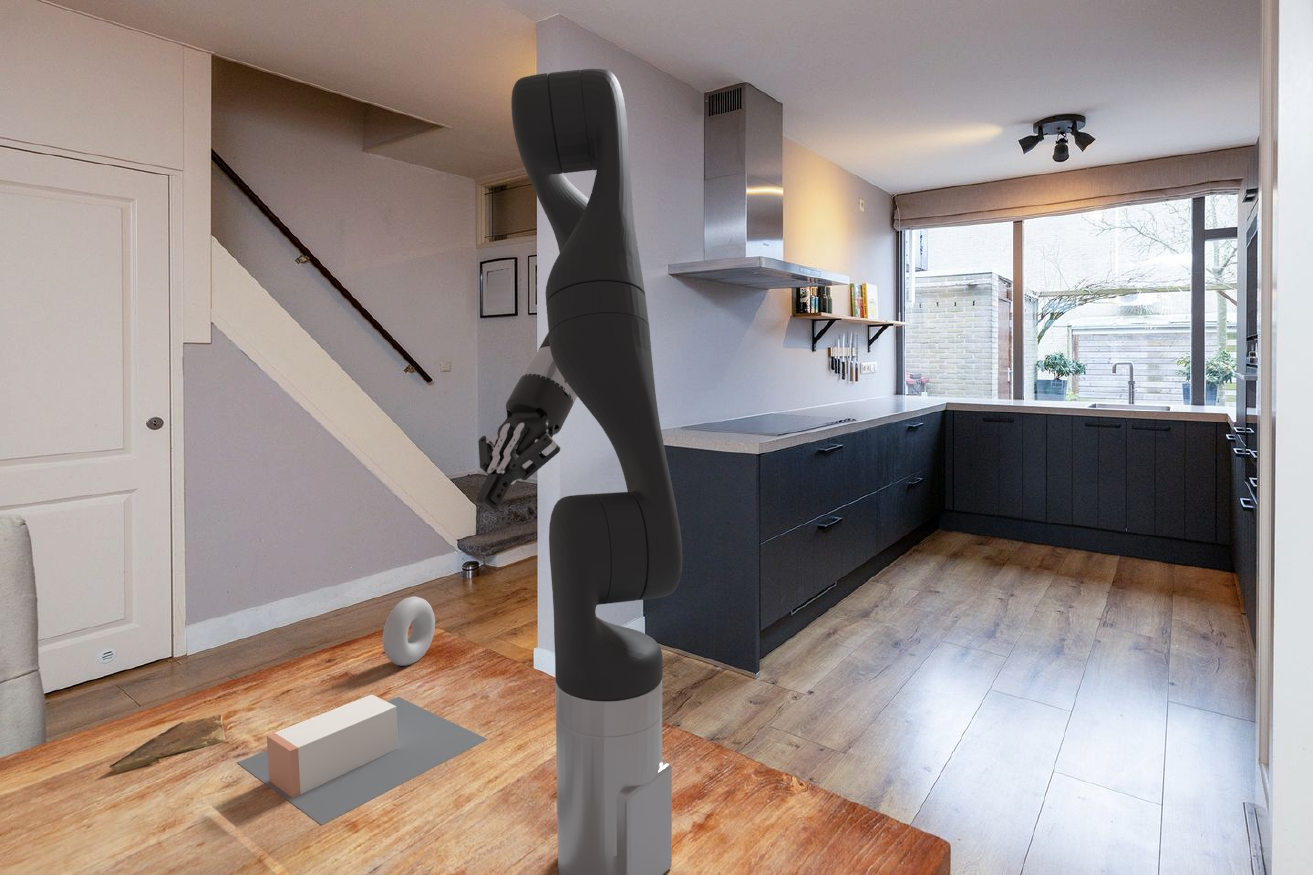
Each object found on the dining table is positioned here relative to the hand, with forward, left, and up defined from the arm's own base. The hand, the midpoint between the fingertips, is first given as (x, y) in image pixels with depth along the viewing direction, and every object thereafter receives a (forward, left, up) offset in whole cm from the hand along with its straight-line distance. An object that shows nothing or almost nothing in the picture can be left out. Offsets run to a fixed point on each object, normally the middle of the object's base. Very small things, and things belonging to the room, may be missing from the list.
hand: (485, 505), depth 85 cm
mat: (+7, +12, -28) cm, 31 cm away
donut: (+25, -6, -28) cm, 38 cm away
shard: (+25, +24, -28) cm, 45 cm away
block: (+7, +10, -25) cm, 27 cm away
